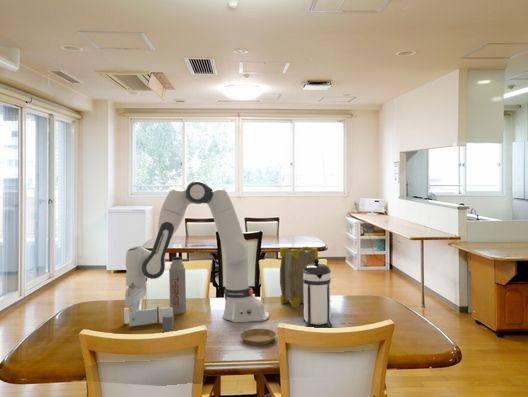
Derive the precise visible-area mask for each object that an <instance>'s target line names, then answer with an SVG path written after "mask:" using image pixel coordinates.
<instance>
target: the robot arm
mask: <svg viewBox="0 0 528 397" xmlns="http://www.w3.org/2000/svg"><path fill="white" fill-rule="evenodd" d="M191 204H195V205H201V204H206V205H207V206H208V208H209V209H210V213H211V215H212V218H213V221H214V223H215V227H216V229H217V232H218V236H219V240H220V243H221V246H222V249H223V252H224V254H225V271H224V273H225V287H224V299H225V302H224V308H223V309H224V310H223V314H222V318H223V319H224V320H228V321H231V322H233V323H249V322H250V323H251V322H261V321H266V320H268V319H269V318H270V313H269V312H268V310H265V306H264V303H263V301H262V300H260V299H259V298H257V297H256V296H255V295H254V290H253V288H252V287H250V286H249V258H248V257H249V256H248V255H249V253H248V252H249V251H248V249H249V247H248V245H249V244H248V242H247V240H246V239H245V236H244V233H243V230H242V226H241V224H240V221H239V218H238V215H237V212H236V210H235V207H234V204H233V202H232V200H231V197H230V196H229V194H228V193H227V190H226V189H224V188H221V187H219V188H215V189H214V188H213V189H212V188H211V187H210V186H209V185H208V184H206V183H205V181H202V180H194V181H191V182H190V183H188V184H187V186H186V189H181V188H173V189H171V190H170V191H169V192H168V194H167V195H166V197H165V198H164V202H163V204H162V207H161V209H160V212H159V217H158V223H157V224H158V226H157V234H156V238H155V241H154V244H153V247H152V249H151V250H150V249H149V250H148V249H147V248H145V247H144V246H133V247H130V248H129V249H128V250H127V251H126V254H125V269H126V272H125V287H127V288H126V290H125V293H124V294H125V295H124V296H125V298H124V304H125V306H126V307H132V311H139V310H140V301H141V300H142V299H143V298H144V297H145V296H146V294H147V281H148V279H150V280H155V279H159V278H160V277H162V275H163V274H164V272H165V269H166V259H165V258H166V254H167V252H168V251H167V250H168V248H169V245H170V242H171V240H172V238H173V237H174V234H175V233H176V232H177V231H178V229H179V227H180V225H181V223H182V221H183V219H184V216H185V213H186V210H187V209H188V206H189V205H191Z"/></svg>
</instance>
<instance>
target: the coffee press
mask: <svg viewBox="0 0 528 397" xmlns="http://www.w3.org/2000/svg"><path fill="white" fill-rule="evenodd" d="M314 263H315V264H308V265H306V266H305V267H304V269H303V283H304V303H303V318H302V321H303V322H305V323H306V327H307V326H308V327H311V328H312V326H313V325H326V326H327V328H331V327H332V326H333V324H332V323H331V282H332V281H331V271H332V270H331V269H330V267H329V266H328V264H324V263H320V260H319V258H318V259H315V260H314Z"/></svg>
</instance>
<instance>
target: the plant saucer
mask: <svg viewBox="0 0 528 397" xmlns="http://www.w3.org/2000/svg"><path fill="white" fill-rule="evenodd" d="M276 336H277V333H276V332H275V331H274V330H271V329H266V328H251V329H248V330H244V331H242V332H241V333H240V336H239V337H240V338H241V339H242V341H244V342H245V343H246V344H248V345H252V346H263V345H268V344H270V343H271V342H272V341H273V340H274V339H275V338H276Z"/></svg>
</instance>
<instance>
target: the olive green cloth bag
mask: <svg viewBox="0 0 528 397" xmlns="http://www.w3.org/2000/svg"><path fill="white" fill-rule="evenodd" d="M318 252H319V251H318V248H317V247H312V246H303V247H302V248H300V249H295V248H293V249H289V247H280V248H279V256H280V257H281V260H280V267H279V285H280V290H281V291H280V293H281V295H280V303H281V304H284V303H285V304H288V303H289V304H290V306H291V308H297V307H300V304H304V283H303V269H304V267H305V266H306V265H308V264H315V263H314V260H315V259H318V260H319V253H318Z"/></svg>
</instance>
